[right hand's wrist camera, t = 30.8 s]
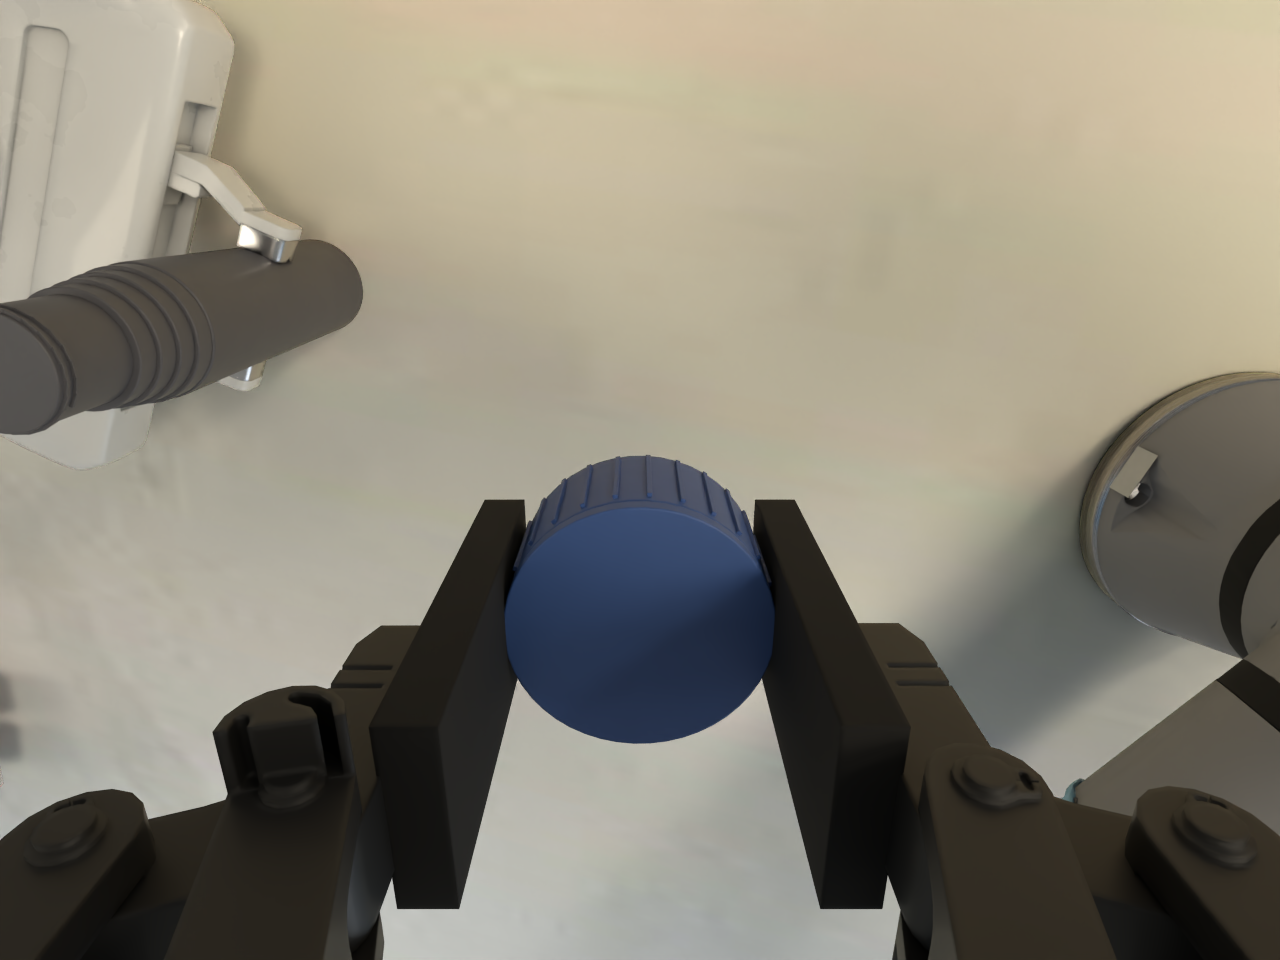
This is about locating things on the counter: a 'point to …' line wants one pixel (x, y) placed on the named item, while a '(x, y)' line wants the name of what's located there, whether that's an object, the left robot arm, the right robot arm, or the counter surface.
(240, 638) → the counter surface
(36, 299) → the bottle
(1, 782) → the toy
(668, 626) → the cap
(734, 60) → the counter surface
